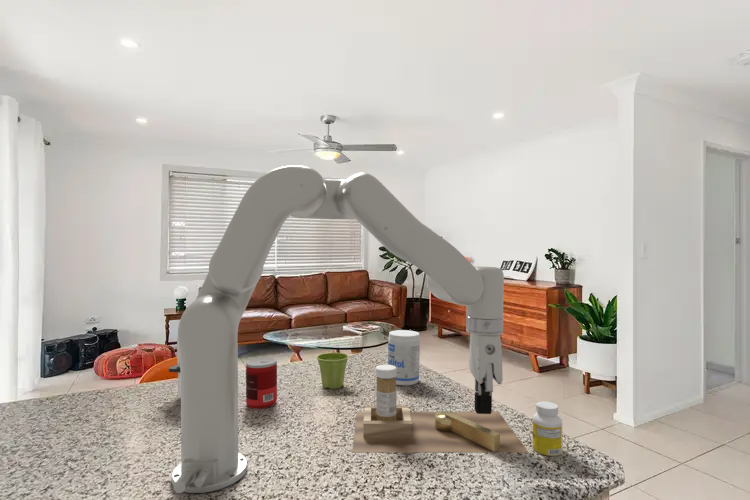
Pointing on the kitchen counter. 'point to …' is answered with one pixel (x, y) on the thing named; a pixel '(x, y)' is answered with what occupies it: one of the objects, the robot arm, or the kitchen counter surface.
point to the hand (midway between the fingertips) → (482, 412)
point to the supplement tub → (404, 355)
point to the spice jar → (386, 392)
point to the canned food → (261, 383)
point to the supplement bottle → (547, 430)
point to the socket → (387, 424)
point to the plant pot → (332, 369)
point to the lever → (467, 429)
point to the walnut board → (438, 436)
